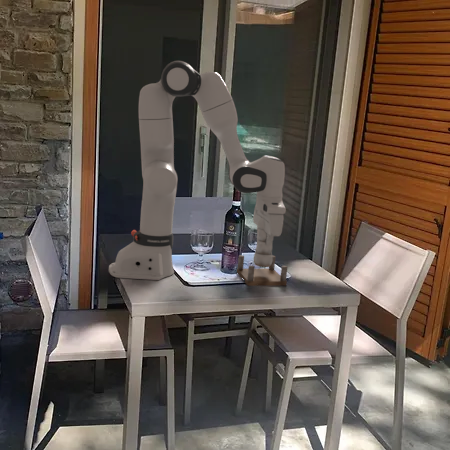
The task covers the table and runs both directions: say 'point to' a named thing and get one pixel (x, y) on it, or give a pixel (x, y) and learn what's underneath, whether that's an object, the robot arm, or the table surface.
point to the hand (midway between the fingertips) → (264, 242)
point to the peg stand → (261, 274)
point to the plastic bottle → (262, 247)
